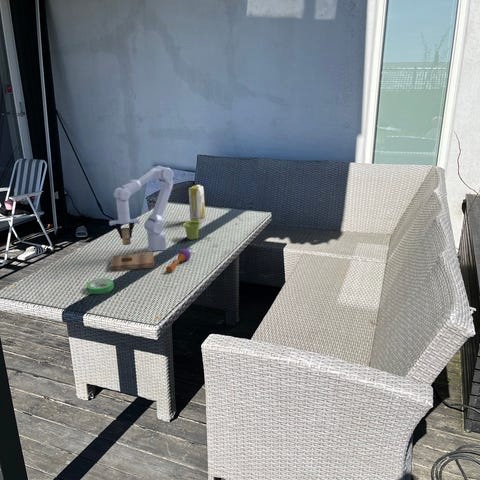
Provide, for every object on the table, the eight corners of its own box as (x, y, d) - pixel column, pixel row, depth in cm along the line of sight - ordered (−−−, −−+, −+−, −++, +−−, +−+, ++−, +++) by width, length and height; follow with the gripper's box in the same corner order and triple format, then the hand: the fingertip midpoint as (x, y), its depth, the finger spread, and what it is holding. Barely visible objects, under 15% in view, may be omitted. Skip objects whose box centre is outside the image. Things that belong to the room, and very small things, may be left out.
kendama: (161, 264, 214) (180, 247, 231) (165, 275, 215) (183, 258, 233) (172, 263, 211) (190, 246, 229) (176, 275, 213) (193, 257, 231)
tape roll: (88, 296, 192) (88, 290, 191) (86, 286, 201) (85, 280, 200) (115, 291, 196) (115, 285, 195) (111, 282, 205) (111, 276, 205)
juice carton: (201, 224, 285) (199, 186, 278) (189, 223, 288) (187, 186, 280) (206, 220, 294) (204, 183, 286) (194, 219, 296) (192, 183, 288)
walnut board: (153, 257, 233) (153, 252, 232) (153, 267, 220) (153, 262, 219) (113, 260, 230) (112, 255, 229) (111, 271, 217) (110, 266, 216)
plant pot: (181, 239, 259) (180, 225, 256) (189, 234, 267) (188, 220, 264) (196, 241, 255) (195, 226, 252) (203, 236, 263) (202, 222, 261)
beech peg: (131, 242, 236) (129, 227, 233) (130, 244, 232) (129, 229, 229) (122, 242, 235) (121, 227, 232) (122, 245, 231) (120, 230, 228)
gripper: (138, 208, 233) (140, 234, 237) (109, 210, 230) (112, 236, 235) (138, 212, 226) (140, 238, 231) (108, 214, 224) (111, 240, 228)
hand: (126, 237), depth 232 cm, fingers closed on beech peg, 4 cm apart
